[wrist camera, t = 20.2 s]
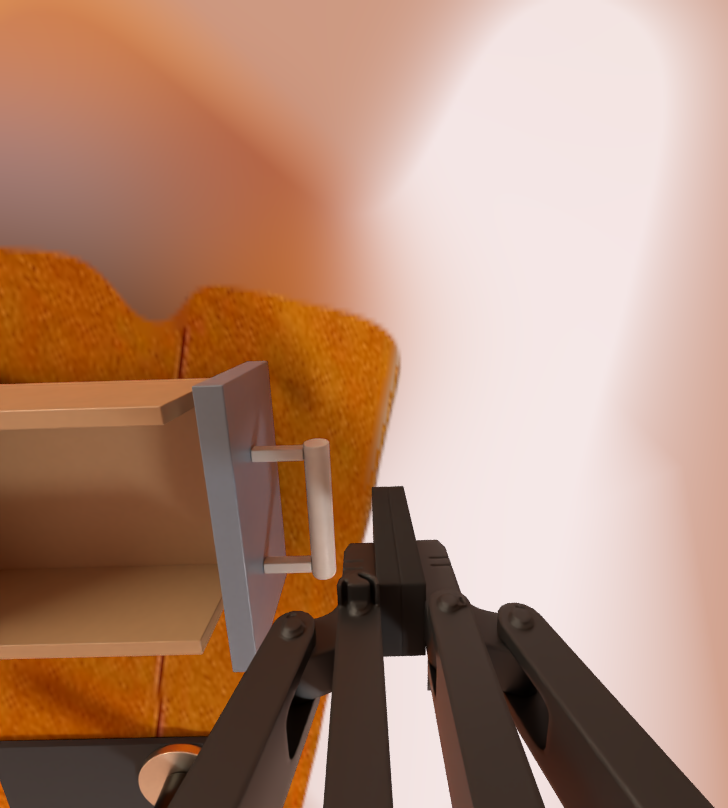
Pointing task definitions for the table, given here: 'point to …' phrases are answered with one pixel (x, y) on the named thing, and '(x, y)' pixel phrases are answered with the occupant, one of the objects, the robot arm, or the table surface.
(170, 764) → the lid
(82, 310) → the table surface
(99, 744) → the mat
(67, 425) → the drawer
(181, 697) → the table surface
